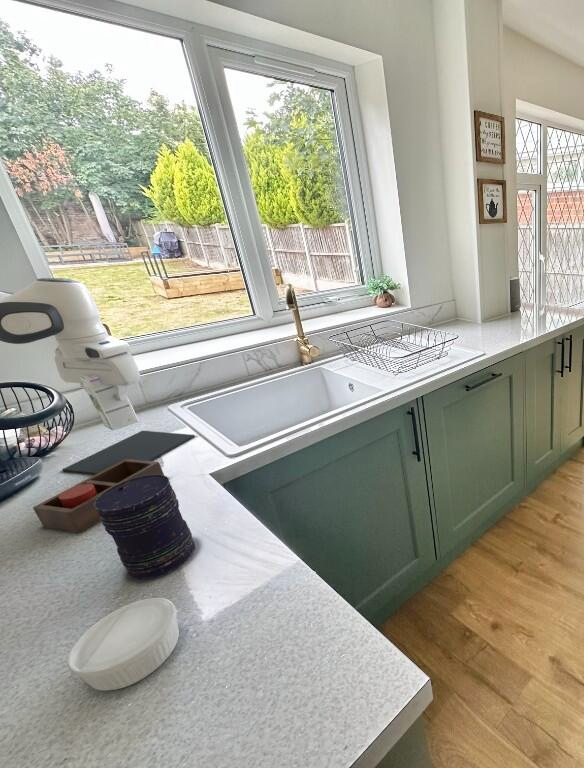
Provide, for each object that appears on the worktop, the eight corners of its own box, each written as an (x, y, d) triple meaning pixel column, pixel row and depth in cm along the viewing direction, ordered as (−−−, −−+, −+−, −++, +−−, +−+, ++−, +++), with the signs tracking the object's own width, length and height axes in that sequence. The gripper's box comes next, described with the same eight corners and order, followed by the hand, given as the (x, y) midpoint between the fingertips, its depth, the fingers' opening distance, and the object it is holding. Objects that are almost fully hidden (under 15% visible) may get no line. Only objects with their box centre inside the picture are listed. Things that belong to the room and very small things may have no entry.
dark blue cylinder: (209, 544, 78) (183, 478, 73) (155, 586, 70) (121, 515, 64) (170, 535, 81) (142, 470, 75) (113, 574, 72) (77, 505, 66)
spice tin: (64, 521, 85) (51, 497, 83) (92, 505, 90) (80, 482, 88) (84, 524, 84) (71, 500, 82) (111, 507, 89) (100, 484, 87)
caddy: (43, 527, 84) (32, 507, 82) (133, 476, 100) (125, 458, 98) (80, 532, 82) (69, 512, 80) (166, 479, 98) (158, 461, 97)
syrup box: (140, 421, 108) (117, 369, 102) (111, 431, 103) (85, 378, 98) (131, 417, 111) (108, 366, 105) (102, 426, 106) (77, 374, 101)
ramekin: (83, 657, 58) (67, 632, 56) (180, 608, 66) (168, 583, 64) (84, 721, 51) (65, 693, 49) (193, 657, 58) (180, 631, 56)
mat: (63, 471, 103) (62, 469, 103) (142, 432, 121) (142, 430, 121) (121, 477, 100) (120, 475, 99) (194, 436, 118) (194, 435, 118)
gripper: (37, 348, 98) (62, 401, 103) (106, 352, 94) (129, 406, 100) (68, 341, 104) (90, 391, 109) (134, 344, 100) (154, 396, 105)
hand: (109, 398), depth 104 cm, fingers closed on syrup box, 6 cm apart
